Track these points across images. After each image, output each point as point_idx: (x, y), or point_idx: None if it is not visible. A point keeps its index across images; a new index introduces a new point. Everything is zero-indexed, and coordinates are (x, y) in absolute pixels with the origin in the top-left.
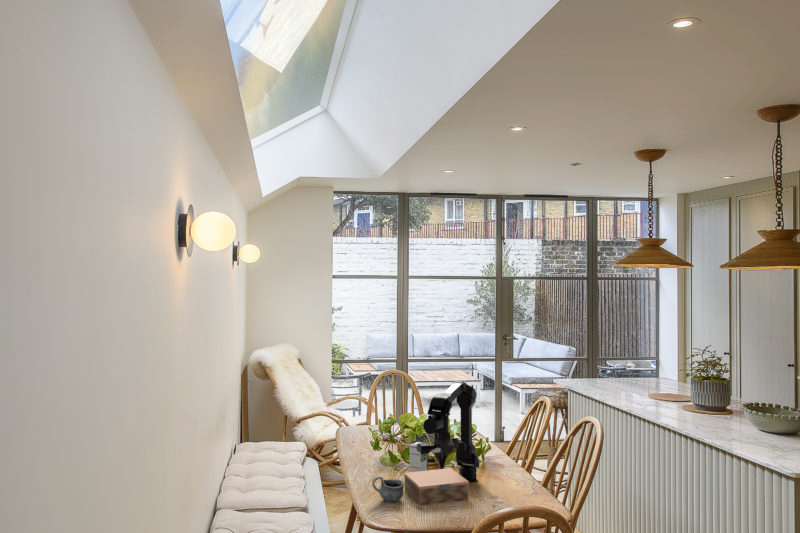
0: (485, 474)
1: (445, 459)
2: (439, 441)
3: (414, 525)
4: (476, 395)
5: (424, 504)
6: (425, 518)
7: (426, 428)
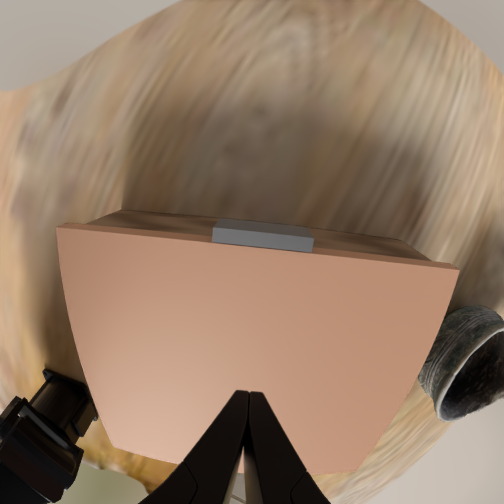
0: (27, 393)
1: (180, 482)
2: None
3: (487, 62)
4: None
5: (378, 237)
6: (441, 84)
7: None
